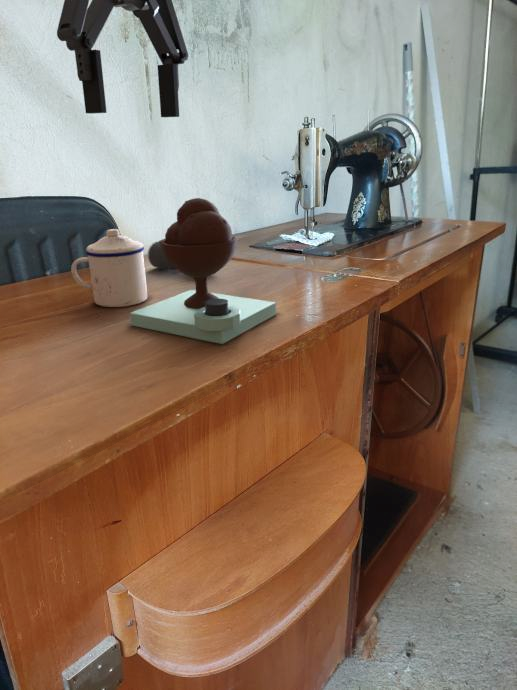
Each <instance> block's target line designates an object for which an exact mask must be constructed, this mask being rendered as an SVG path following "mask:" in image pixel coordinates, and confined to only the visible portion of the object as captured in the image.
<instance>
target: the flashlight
mask: <svg viewBox="0 0 517 690" xmlns="http://www.w3.org/2000/svg"><path fill="white" fill-rule="evenodd" d="M159 241H160V240H159ZM159 241H157V240H156V241H154V242H152V243H151V244H150V246H149V247H148V249H147V255H146V256H147V261H148V263H149V264H150V265H151V266H152V267H154V268H158V269H162V270H172V271H178V270H177V269H176V268H175V267H174V266H173V265H172V264H171V263H170V262H169V261H168V260H167V259H166V258H165V256H164V254H163V252H162V250H161V246H160V243H159Z"/></svg>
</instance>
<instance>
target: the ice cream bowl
mask: <svg viewBox="0 0 517 690" xmlns="http://www.w3.org/2000/svg"><path fill="white" fill-rule="evenodd" d="M159 243H160V246H161V250H162V252H163V254H164V256H165V258H166V259H167V260H168V261H169V262H170V263H171V264H172V265H173V266H174V267H175V268H176V269H177V270H176V271H179V272H180V273H182V274H184V275H185V276H188V277H191V278H192V279H193V280H194V282H195V290H196V293H194V294H193V295H192V296H190V297H189V298H187V299H186V300H185V301H184V305H185V306H186V307H188V308H194V309H201V308H203V307H205V302H206V301H207V300H210V299H219V298H218V297H217V296H215V295H213V294H211V293H212V292H209V288H208V287H209V286H208V280H209V278H210V277H211V276H213V275H215V274H216V273H218V272H219V271H221V270H222V269H223V268H224V267H226V266H227V264H228V263H229V262H230V261H231V260H232V259H233V258H234V255H235V253H236V250H237V245H238V237H236V236H234V235H233V232H232V227H231V226H230V224H229V222H228V221H227V220H226V219H225V218H224V217H223V216H222V215H221V214H220V211H219V210H218V208H217V206H216V205H215V204H214V203H213V202H211V201H210V200H208V199H205V198H201V197H195V198H191V199H188V200H185V201H184V203H183V204H182V205H181V206H180V207H179V208H178V209H177V212H176V221H174V222H173V223H171V225H170V226H169V227H168V228H167V229H166V232H165V234H164V238H162V239H161V240H159Z"/></svg>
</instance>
